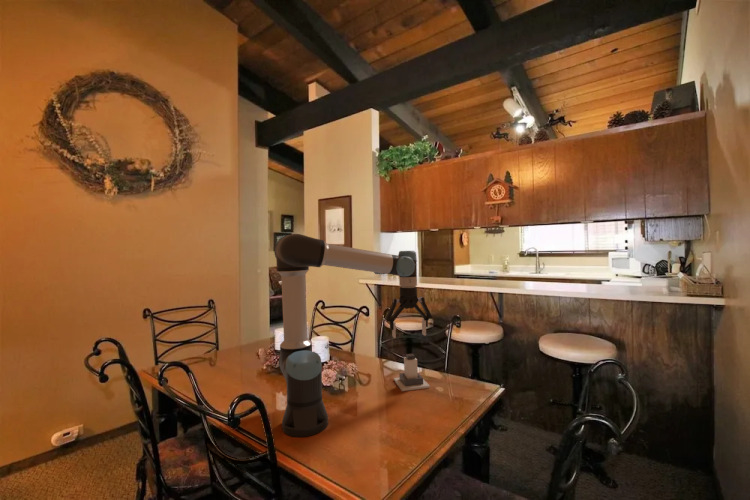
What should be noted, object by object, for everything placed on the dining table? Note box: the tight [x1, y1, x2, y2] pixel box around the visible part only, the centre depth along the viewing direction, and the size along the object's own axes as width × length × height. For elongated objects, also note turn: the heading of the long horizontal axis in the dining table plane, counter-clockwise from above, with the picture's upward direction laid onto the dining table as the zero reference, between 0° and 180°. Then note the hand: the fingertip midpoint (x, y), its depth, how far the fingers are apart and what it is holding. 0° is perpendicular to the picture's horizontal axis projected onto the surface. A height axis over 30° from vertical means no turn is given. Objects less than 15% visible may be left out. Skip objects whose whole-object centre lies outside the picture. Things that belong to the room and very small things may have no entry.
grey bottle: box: [403, 353, 419, 379], centre depth 145 cm, size 4×4×12 cm
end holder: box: [393, 372, 431, 392], centre depth 145 cm, size 12×12×4 cm
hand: (409, 336), depth 144 cm, fingers open, 13 cm apart
